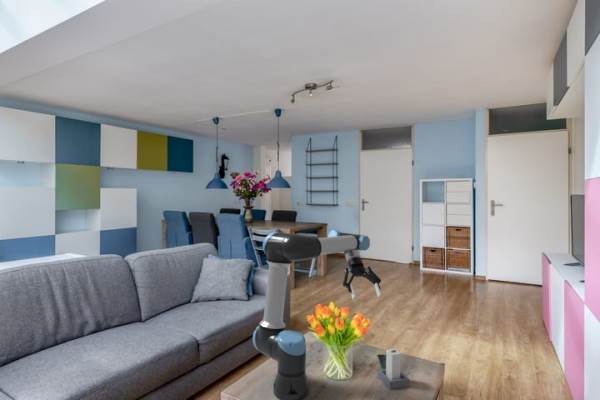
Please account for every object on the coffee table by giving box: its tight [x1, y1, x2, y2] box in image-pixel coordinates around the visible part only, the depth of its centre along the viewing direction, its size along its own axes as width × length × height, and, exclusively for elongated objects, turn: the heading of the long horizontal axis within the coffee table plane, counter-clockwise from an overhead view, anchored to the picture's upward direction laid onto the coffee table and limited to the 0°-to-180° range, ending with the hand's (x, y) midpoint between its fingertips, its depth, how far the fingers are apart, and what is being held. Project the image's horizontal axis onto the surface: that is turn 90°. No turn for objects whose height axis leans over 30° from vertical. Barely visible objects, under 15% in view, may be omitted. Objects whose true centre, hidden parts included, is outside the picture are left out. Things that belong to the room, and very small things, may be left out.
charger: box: [385, 348, 402, 380], centre depth 155 cm, size 4×5×13 cm
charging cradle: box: [377, 369, 410, 390], centre depth 155 cm, size 9×10×3 cm
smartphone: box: [376, 354, 386, 370], centre depth 172 cm, size 8×1×15 cm
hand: (367, 297), depth 172 cm, fingers open, 13 cm apart
